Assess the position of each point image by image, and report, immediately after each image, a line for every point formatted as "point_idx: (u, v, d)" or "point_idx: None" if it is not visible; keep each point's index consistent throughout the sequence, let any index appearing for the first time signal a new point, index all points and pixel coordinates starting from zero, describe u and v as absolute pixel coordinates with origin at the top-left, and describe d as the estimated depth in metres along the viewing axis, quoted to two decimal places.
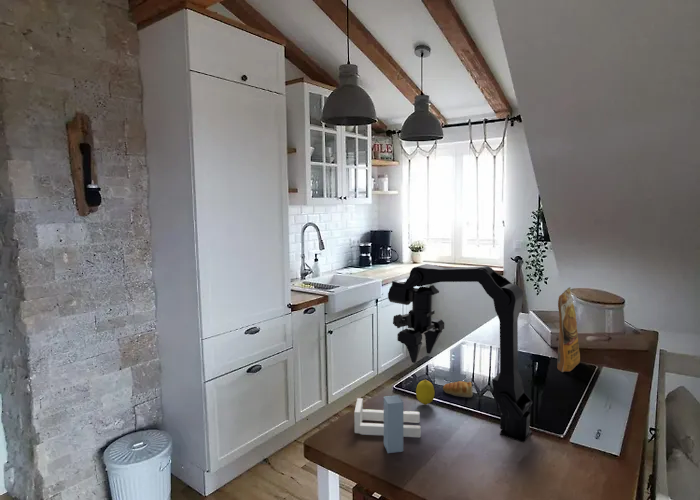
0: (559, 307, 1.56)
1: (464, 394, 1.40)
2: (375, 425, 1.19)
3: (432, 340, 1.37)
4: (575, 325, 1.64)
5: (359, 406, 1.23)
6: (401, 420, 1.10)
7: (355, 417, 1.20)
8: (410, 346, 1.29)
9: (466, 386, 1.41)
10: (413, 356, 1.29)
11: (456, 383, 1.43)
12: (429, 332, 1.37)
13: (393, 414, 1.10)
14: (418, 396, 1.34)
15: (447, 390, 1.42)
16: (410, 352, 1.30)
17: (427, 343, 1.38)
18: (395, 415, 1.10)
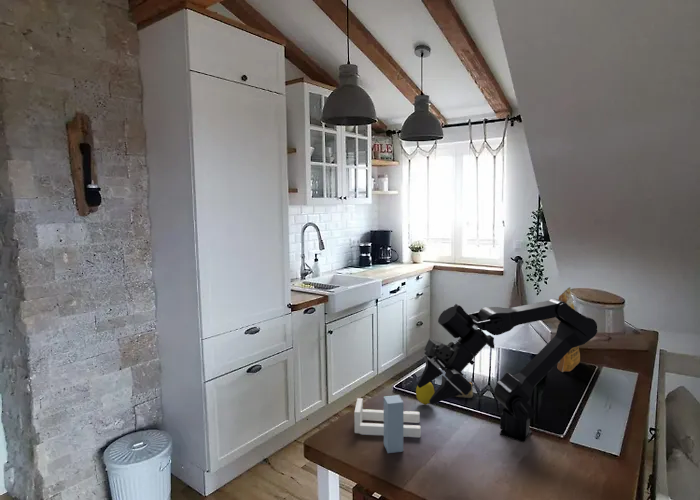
0: None
1: (465, 395, 1.40)
2: (375, 425, 1.19)
3: (432, 376, 1.18)
4: None
5: (359, 406, 1.23)
6: (401, 420, 1.10)
7: (355, 417, 1.20)
8: (445, 388, 1.07)
9: None
10: (438, 398, 1.08)
11: None
12: (434, 367, 1.18)
13: (393, 414, 1.10)
14: (418, 396, 1.34)
15: None
16: (439, 393, 1.08)
17: (425, 376, 1.18)
18: (395, 415, 1.10)
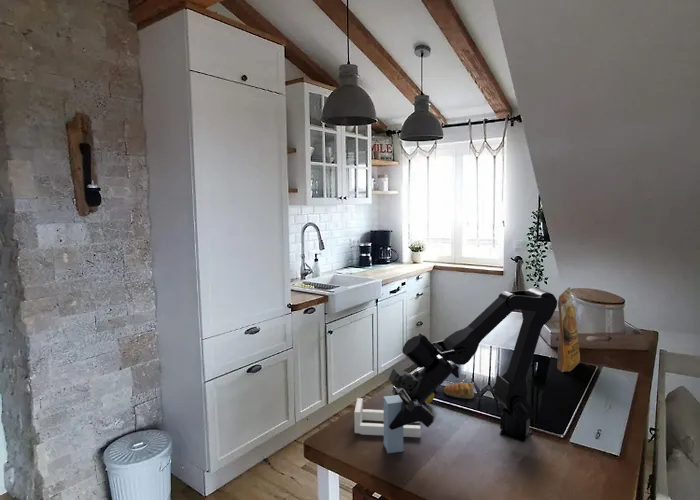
0: (559, 307, 1.56)
1: (466, 396, 1.39)
2: (375, 425, 1.19)
3: None
4: (575, 325, 1.64)
5: (359, 406, 1.23)
6: None
7: (355, 417, 1.20)
8: (404, 414, 1.09)
9: (467, 387, 1.40)
10: (398, 424, 1.09)
11: (457, 384, 1.42)
12: (402, 399, 1.15)
13: (393, 414, 1.10)
14: None
15: (448, 392, 1.41)
16: (399, 419, 1.09)
17: None
18: (395, 415, 1.10)
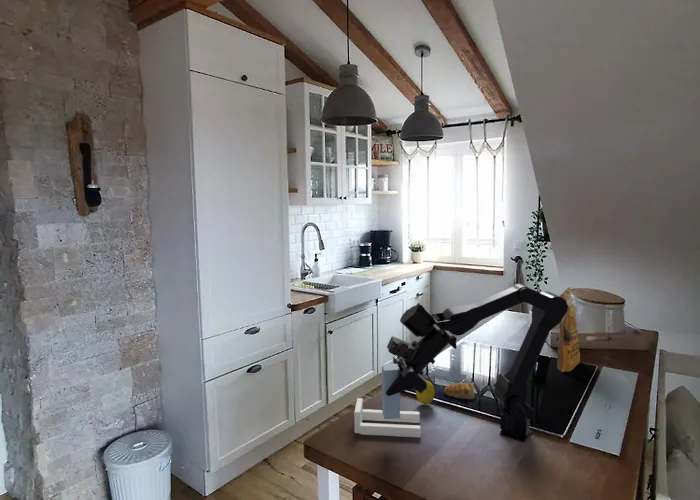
0: None
1: (466, 396, 1.39)
2: (375, 425, 1.19)
3: None
4: (575, 325, 1.64)
5: (359, 406, 1.23)
6: None
7: (355, 417, 1.20)
8: (400, 381, 1.12)
9: (468, 388, 1.40)
10: (394, 390, 1.12)
11: (457, 385, 1.42)
12: (401, 368, 1.17)
13: (390, 381, 1.13)
14: (418, 396, 1.34)
15: (449, 392, 1.41)
16: (395, 386, 1.12)
17: None
18: (391, 382, 1.13)
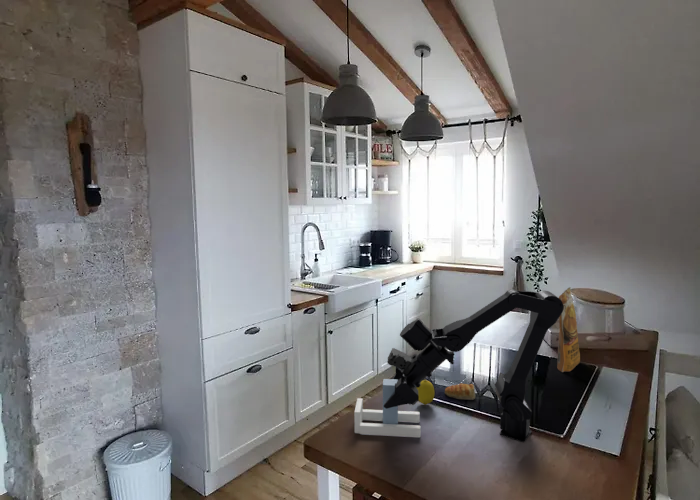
0: None
1: (467, 397, 1.38)
2: (375, 425, 1.19)
3: None
4: (575, 325, 1.64)
5: (359, 406, 1.23)
6: None
7: (355, 417, 1.20)
8: (397, 395, 1.16)
9: (469, 388, 1.39)
10: (391, 404, 1.17)
11: (458, 386, 1.41)
12: (402, 375, 1.26)
13: (388, 395, 1.20)
14: None
15: (449, 393, 1.40)
16: (392, 399, 1.16)
17: None
18: (389, 396, 1.20)
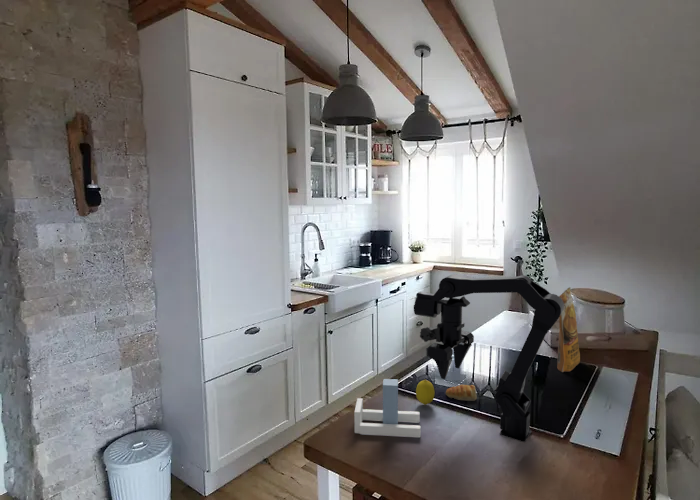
0: None
1: (469, 398, 1.38)
2: (375, 425, 1.19)
3: (461, 354, 1.29)
4: (575, 325, 1.64)
5: (359, 406, 1.23)
6: (395, 402, 1.20)
7: (355, 417, 1.20)
8: (439, 361, 1.22)
9: (470, 389, 1.39)
10: (442, 372, 1.22)
11: (459, 387, 1.40)
12: (458, 346, 1.30)
13: (388, 395, 1.20)
14: (418, 396, 1.34)
15: (451, 395, 1.39)
16: (439, 368, 1.22)
17: (456, 357, 1.30)
18: (390, 396, 1.20)
